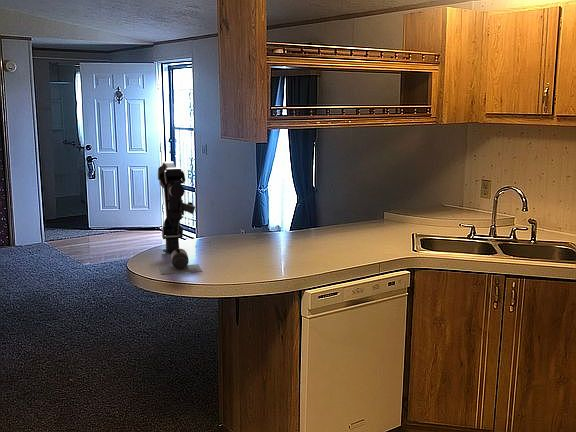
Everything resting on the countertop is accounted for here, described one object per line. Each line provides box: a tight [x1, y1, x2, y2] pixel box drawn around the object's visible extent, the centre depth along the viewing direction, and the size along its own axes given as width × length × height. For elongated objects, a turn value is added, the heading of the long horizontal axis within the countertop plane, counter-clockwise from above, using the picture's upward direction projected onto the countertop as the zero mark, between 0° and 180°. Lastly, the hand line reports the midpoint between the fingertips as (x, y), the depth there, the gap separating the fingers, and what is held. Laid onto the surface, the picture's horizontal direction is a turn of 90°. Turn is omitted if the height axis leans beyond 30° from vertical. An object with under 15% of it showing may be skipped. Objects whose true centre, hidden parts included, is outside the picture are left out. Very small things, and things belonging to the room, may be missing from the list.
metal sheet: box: [159, 263, 203, 275], centre depth 255 cm, size 11×16×1 cm
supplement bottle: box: [170, 248, 190, 269], centre depth 256 cm, size 7×7×12 cm
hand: (176, 233), depth 270 cm, fingers closed
